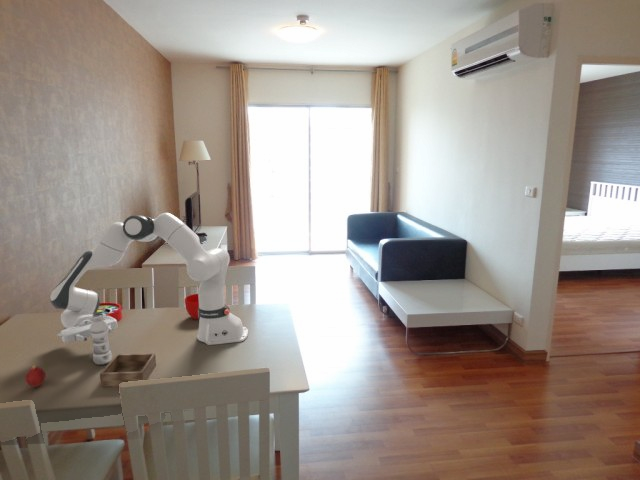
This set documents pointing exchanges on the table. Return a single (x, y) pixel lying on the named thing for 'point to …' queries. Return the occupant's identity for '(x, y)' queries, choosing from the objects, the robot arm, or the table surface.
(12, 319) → the table surface
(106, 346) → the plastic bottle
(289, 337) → the table surface
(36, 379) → the red pomegranate
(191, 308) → the ceramic cup
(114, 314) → the toy clock
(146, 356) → the box
